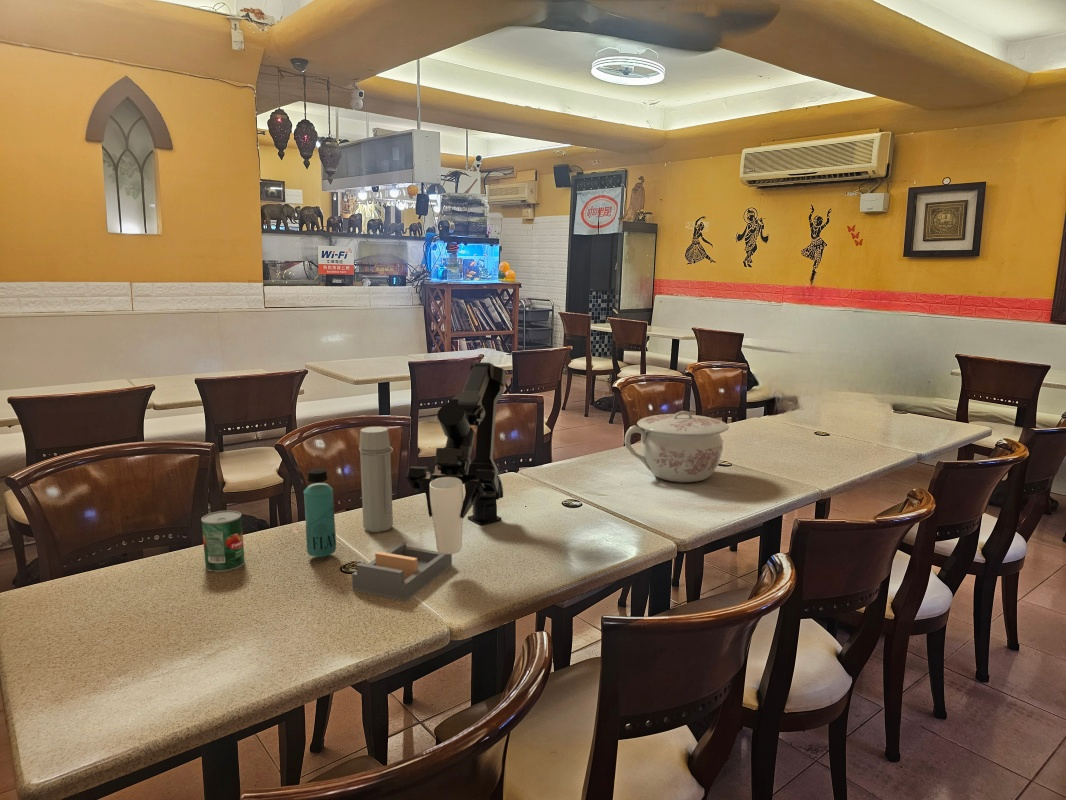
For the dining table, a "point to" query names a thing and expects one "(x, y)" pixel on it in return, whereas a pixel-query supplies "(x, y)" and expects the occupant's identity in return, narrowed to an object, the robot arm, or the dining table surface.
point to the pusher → (397, 562)
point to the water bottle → (376, 478)
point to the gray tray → (400, 574)
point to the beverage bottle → (319, 515)
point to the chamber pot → (679, 445)
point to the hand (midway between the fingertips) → (446, 516)
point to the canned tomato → (223, 540)
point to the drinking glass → (447, 513)
